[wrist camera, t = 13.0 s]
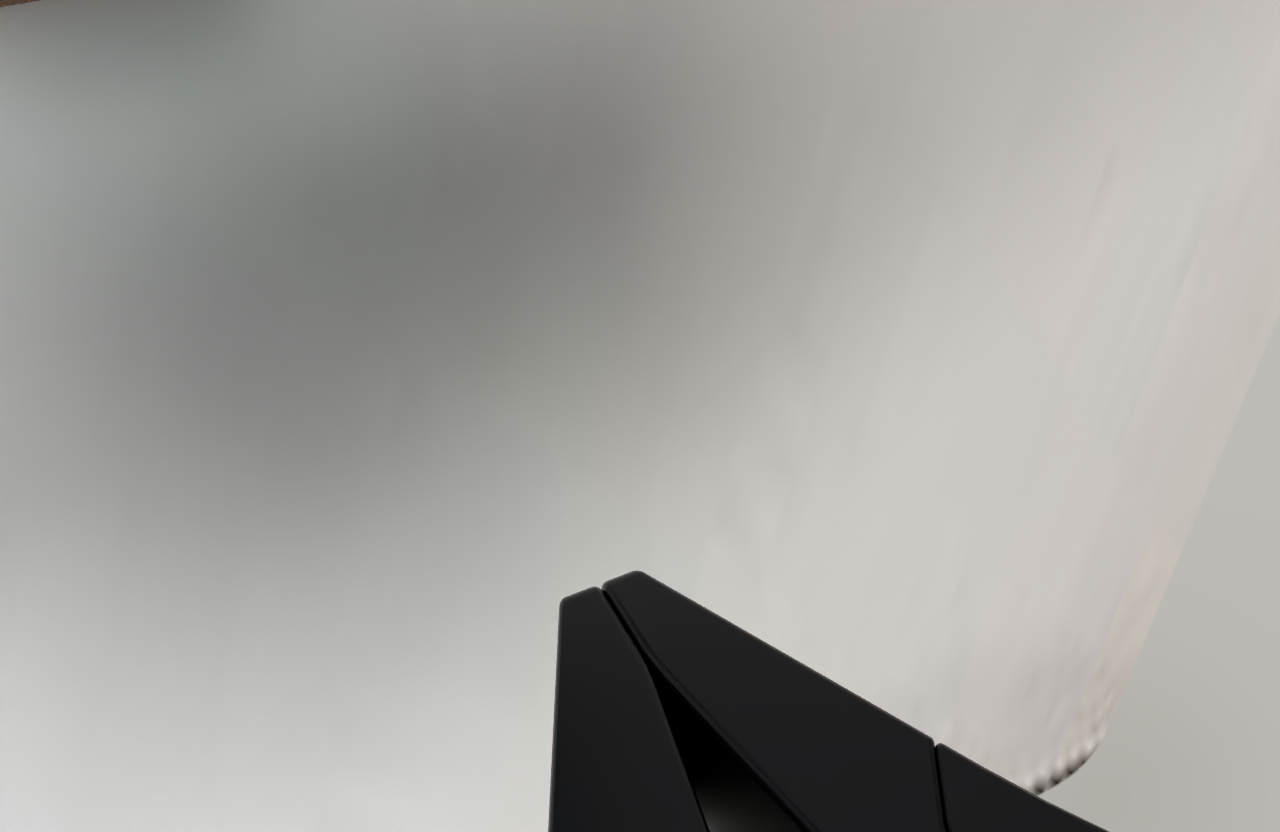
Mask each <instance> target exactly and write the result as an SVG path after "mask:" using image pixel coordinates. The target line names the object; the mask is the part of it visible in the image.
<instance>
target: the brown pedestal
mask: <svg viewBox="0 0 1280 832" xmlns="http://www.w3.org/2000/svg"><path fill="white" fill-rule="evenodd" d="M32 1H38V0H0V7H2V6H8V5H14V4H20V3H26V2H32Z"/></svg>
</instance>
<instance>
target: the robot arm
mask: <svg viewBox="0 0 1280 832" xmlns="http://www.w3.org/2000/svg"><path fill="white" fill-rule="evenodd" d="M548 832H1109V831H1107V830H1105V829H1103V828H1101V827H1099V826H1096V825H1094V824H1092V823H1090V822H1088V821H1086V820H1084V819H1082V818H1080V817H1078V816H1076V815H1074V814H1072V813H1069V812H1068V811H1065V810H1063V809H1061V808H1059V807H1057V806H1055V805H1053V804H1051V803H1049V802H1047V801H1045V800H1043V799H1041V798H1040V797H1038V796H1036V795H1034V794H1032V793H1030V792H1029V791H1027V790H1025V789H1023V788H1021V787H1019V786H1017V785H1016V784H1014V783H1012V782H1010V781H1008V780H1006V779H1005V778H1003V777H1001V776H999V775H997V774H995V773H993V772H992V771H990V770H988V769H986V768H984V767H982V766H981V765H979V764H977V763H975V762H974V761H972V760H970V759H968V758H967V757H965V756H963V755H961V754H960V753H958V752H956V751H954V750H953V749H951V748H949V747H948V746H946V745H944V744H942V743H939V744H937V745H936V746H935V745H934V741H933V739H932V738H931V737H930V736H928V735H926V734H924V733H923V732H921V731H919V730H917V729H916V728H914V727H912V726H910V725H909V724H907V723H905V722H903V721H902V720H900V719H898V718H896V717H895V716H893V715H891V714H889V713H888V712H886V711H884V710H882V709H881V708H879V707H877V706H875V705H874V704H872V703H870V702H869V701H867V700H865V699H863V698H862V697H860V696H858V695H856V694H855V693H853V692H851V691H849V690H848V689H846V688H844V687H842V686H841V685H839V684H837V683H835V682H834V681H832V680H830V679H828V678H827V677H825V676H823V675H821V674H820V673H818V672H816V671H814V670H813V669H811V668H809V667H808V666H806V665H804V664H802V663H801V662H799V661H797V660H795V659H794V658H792V657H790V656H788V655H787V654H785V653H783V652H781V651H780V650H778V649H776V648H774V647H773V646H771V645H769V644H767V643H766V642H764V641H762V640H760V639H759V638H757V637H755V636H753V635H752V634H750V633H748V632H747V631H745V630H743V629H741V628H740V627H738V626H736V625H734V624H733V623H731V622H729V621H727V620H726V619H724V618H722V617H720V616H719V615H717V614H715V613H713V612H712V611H710V610H708V609H706V608H705V607H703V606H701V605H699V604H698V603H696V602H694V601H692V600H691V599H689V598H687V597H686V596H684V595H682V594H680V593H679V592H677V591H675V590H673V589H672V588H670V587H668V586H666V585H665V584H663V583H661V582H659V581H658V580H656V579H654V578H652V577H651V576H649V575H647V574H645V573H644V572H641V571H632V572H630V573H627V574H625V575H622V576H619V577H617V578H614V579H612V580H609V581H607V582H605V583H604V584H603V586H602V589H600V588H598V587H591V588H588V589H586V590H583V591H581V592H578V593H575V594H573V595H570V596H568V597H565V598H563V599H562V601H561V603H560V606H559V624H558V645H557V665H556V685H555V705H554V725H553V746H552V766H551V786H550V806H549V827H548Z"/></svg>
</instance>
